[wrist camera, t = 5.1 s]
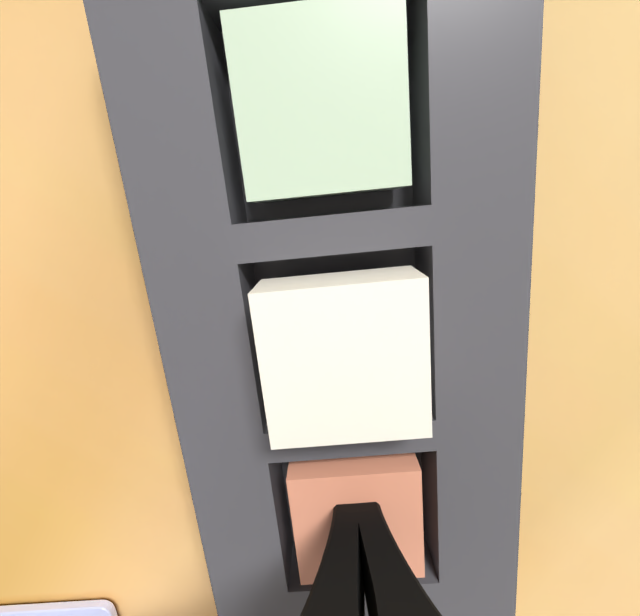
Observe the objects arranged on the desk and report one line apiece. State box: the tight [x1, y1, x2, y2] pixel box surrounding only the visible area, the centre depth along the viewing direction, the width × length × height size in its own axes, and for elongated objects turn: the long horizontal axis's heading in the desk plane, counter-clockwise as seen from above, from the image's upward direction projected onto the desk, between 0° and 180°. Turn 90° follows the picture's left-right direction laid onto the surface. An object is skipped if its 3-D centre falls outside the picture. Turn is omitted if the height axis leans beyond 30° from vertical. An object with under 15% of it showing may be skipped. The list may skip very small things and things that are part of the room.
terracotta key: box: [286, 453, 425, 585], centre depth 12 cm, size 4×4×2 cm
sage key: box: [220, 0, 412, 203], centre depth 9 cm, size 4×4×2 cm
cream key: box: [248, 265, 432, 450], centre depth 10 cm, size 4×4×2 cm
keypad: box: [83, 0, 544, 616], centre depth 12 cm, size 21×10×3 cm, turn 6°
